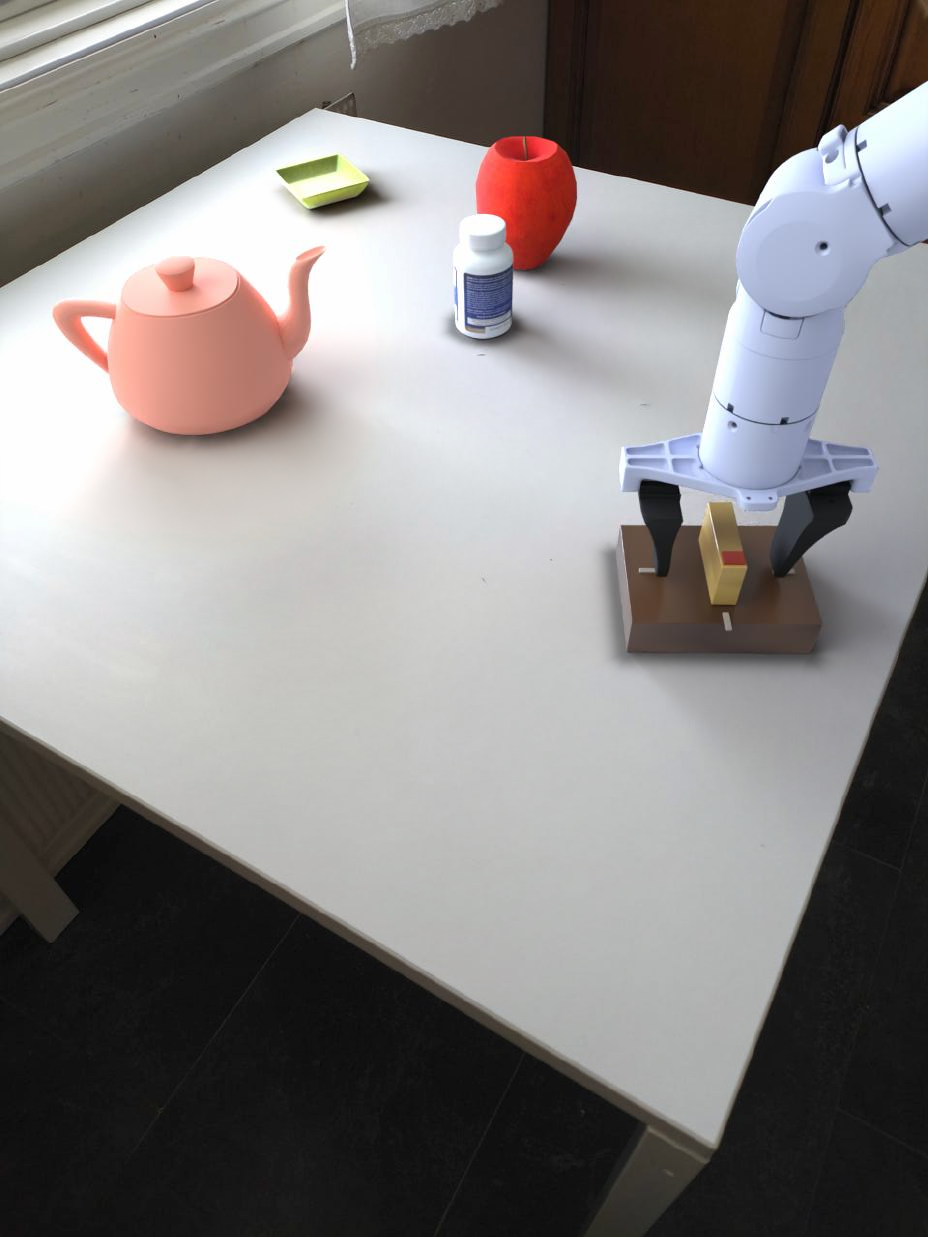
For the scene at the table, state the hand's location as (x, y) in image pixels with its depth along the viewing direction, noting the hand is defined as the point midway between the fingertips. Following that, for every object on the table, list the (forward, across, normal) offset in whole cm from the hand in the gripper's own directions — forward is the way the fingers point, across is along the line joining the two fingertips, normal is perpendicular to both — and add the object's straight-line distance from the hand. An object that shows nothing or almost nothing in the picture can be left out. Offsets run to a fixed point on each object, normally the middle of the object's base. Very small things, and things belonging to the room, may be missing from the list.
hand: (718, 566), depth 59 cm
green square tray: (+4, -35, +63) cm, 72 cm away
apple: (+4, -12, +47) cm, 49 cm away
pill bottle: (+4, -16, +35) cm, 39 cm away
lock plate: (+3, 0, 0) cm, 3 cm away
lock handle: (0, 0, 0) cm, 0 cm away
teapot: (+4, -39, +24) cm, 46 cm away
